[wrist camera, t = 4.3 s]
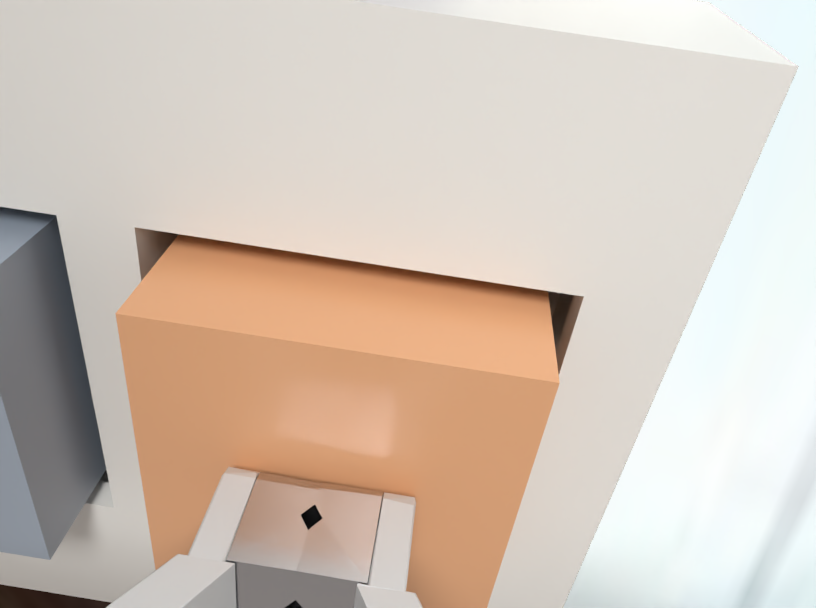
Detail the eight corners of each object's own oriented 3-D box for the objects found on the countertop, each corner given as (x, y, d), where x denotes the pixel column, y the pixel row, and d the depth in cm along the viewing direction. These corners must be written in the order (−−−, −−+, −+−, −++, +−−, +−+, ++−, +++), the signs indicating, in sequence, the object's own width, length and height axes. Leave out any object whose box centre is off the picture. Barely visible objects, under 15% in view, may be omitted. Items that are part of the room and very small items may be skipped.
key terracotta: (196, 213, 12) (115, 312, 9) (544, 266, 11) (559, 382, 9) (211, 456, 15) (156, 576, 12) (481, 499, 15) (479, 630, 12)
